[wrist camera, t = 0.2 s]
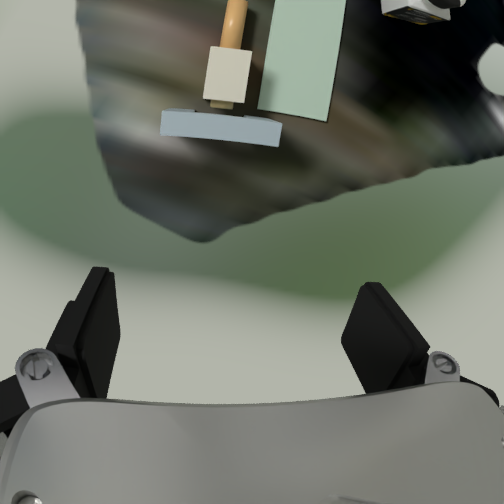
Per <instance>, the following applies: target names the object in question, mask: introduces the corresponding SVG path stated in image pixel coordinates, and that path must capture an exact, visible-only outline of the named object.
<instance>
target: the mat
mask: <svg viewBox="0 0 504 504" xmlns="http://www.w3.org/2000/svg"><path fill="white" fill-rule="evenodd" d="M345 3H346V0H275V5H274V11H273V16H272V22H271V28H270V34H269V40H268V46H267V52H266V58H265V64H264V70H263V76H262V82H261V89H260V95H259V101H258V107H257V109H261V110H267V111H274V112H280V113H286V114H291V115H297V116H302V117H307V118H312V119H317V120H322V121H326V120H327V115H328V110H329V104H330V99H331V93H332V87H333V81H334V75H335V69H336V63H337V57H338V51H339V45H340V38H341V31H342V25H343V18H344V10H345Z"/></svg>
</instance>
